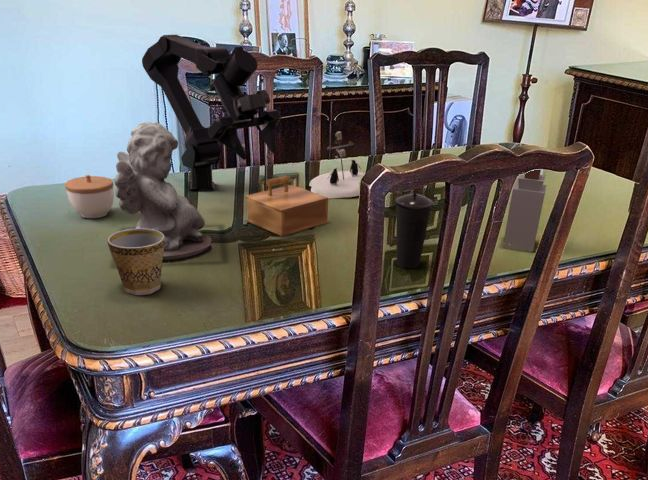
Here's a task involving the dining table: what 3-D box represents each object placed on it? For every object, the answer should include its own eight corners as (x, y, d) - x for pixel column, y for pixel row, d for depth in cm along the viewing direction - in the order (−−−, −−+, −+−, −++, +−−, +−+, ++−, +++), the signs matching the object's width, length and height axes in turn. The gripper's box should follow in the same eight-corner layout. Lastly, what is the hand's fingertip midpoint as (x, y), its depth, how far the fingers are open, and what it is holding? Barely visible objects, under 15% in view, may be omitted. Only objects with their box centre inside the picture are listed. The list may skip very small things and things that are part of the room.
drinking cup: (430, 261, 137) (441, 167, 126) (419, 274, 131) (430, 176, 120) (397, 254, 139) (405, 162, 129) (384, 266, 133) (392, 170, 123)
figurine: (357, 172, 190) (355, 116, 181) (391, 190, 177) (391, 130, 168) (297, 187, 182) (292, 129, 173) (329, 206, 169) (325, 145, 160)
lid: (245, 198, 151) (244, 179, 149) (291, 187, 160) (291, 169, 158) (281, 213, 143) (281, 193, 141) (328, 200, 152) (328, 181, 150)
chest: (248, 221, 154) (247, 199, 151) (293, 209, 163) (293, 188, 160) (281, 236, 146) (281, 213, 143) (327, 222, 155) (328, 201, 152)
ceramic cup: (171, 296, 118) (166, 245, 113) (114, 301, 115) (106, 249, 110) (167, 268, 128) (161, 221, 123) (115, 273, 126) (107, 224, 121)
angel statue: (114, 267, 128) (94, 139, 115) (124, 228, 147) (107, 115, 134) (225, 262, 132) (218, 138, 119) (221, 225, 151) (214, 115, 138)
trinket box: (124, 208, 159) (118, 170, 154) (106, 223, 150) (100, 183, 145) (82, 205, 159) (76, 168, 155) (62, 219, 150) (54, 180, 145)
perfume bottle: (534, 242, 149) (550, 164, 140) (532, 252, 143) (549, 172, 134) (505, 237, 151) (519, 161, 141) (502, 247, 145) (516, 168, 136)
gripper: (214, 80, 142) (245, 144, 142) (278, 74, 153) (306, 133, 154) (194, 108, 150) (223, 168, 151) (256, 100, 162) (283, 156, 162)
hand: (260, 155), depth 154 cm, fingers open, 9 cm apart
